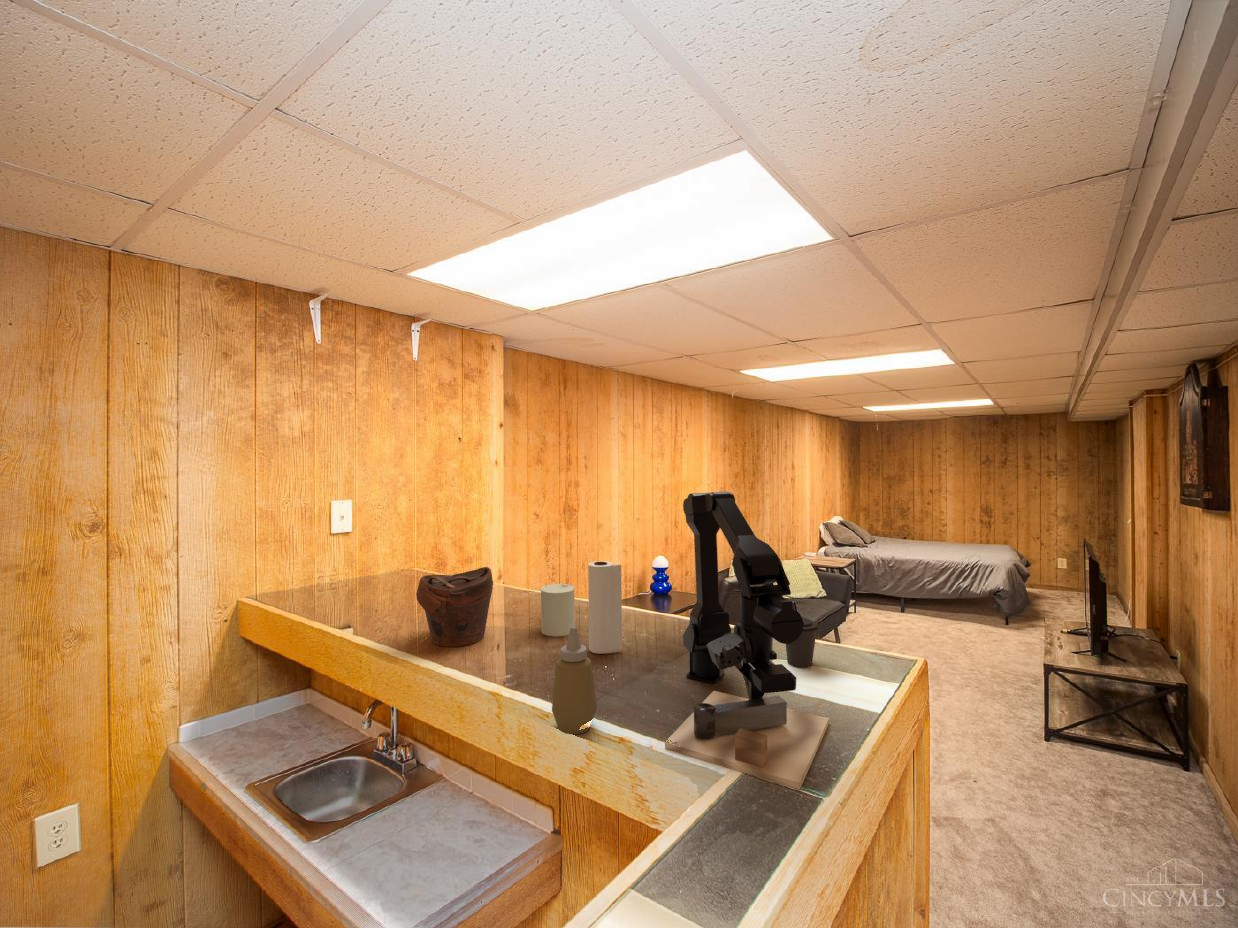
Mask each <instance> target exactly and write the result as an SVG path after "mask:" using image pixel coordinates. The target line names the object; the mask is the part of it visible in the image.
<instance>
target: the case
mask: <svg viewBox="0 0 1238 928" xmlns="http://www.w3.org/2000/svg"><path fill="white" fill-rule="evenodd" d="M418 581H419V583H418V586H417V590H416V594H415V595H416V596H415V597H416V601H417V602H418V604H419V605H420V606H421V607H422V609H423V610H424V612H425V617H426V621H427V625H428V630H429V634H430V638H431V642H432V643H433V644H435V645H436V646H440V647H450V648H451V647H462V646H463V647H464V646H467V645H468V646H469V645H471V644H476V643H477V642H479V641H481V640H482V639H483V638H484V637H485V634H486V627H487V626H486V625H487V621H488V615H489V609H490V604H491V598H492V593H493V589H494V586H493V585H494V581H493V574H492V570H491V568H490V567H489V566H484V567H480V568H478V569H473V570H469V571H465V572H460V573H455V574H427V575H423V576H422V577H420V579H419V580H418Z"/></svg>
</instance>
